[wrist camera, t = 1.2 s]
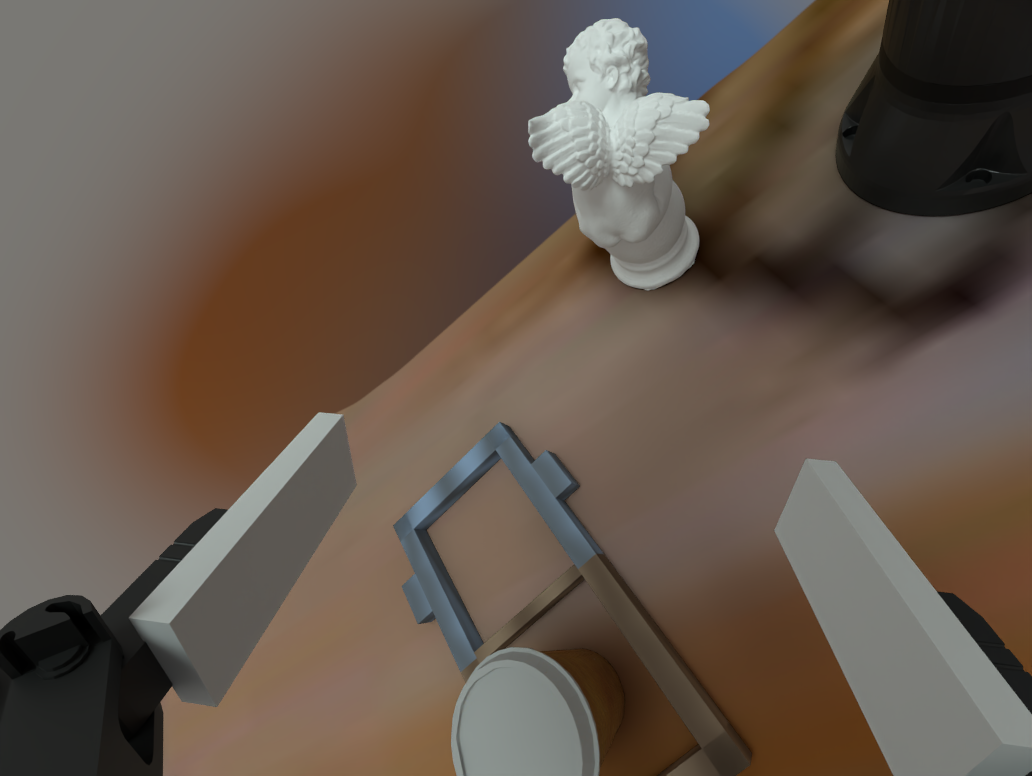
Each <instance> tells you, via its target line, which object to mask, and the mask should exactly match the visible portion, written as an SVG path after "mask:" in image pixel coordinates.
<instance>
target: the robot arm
mask: <svg viewBox="0 0 1032 776" xmlns="http://www.w3.org/2000/svg"><path fill="white" fill-rule="evenodd" d="M836 163H837V167H838V170H839V173H840V175H841V177H842V178H843V180H844V181H845V183H846V184H847V185H848V186H849V187H850V188H851V190H853V191H854V192H855V193H856V194H857V195H859V196H860V197H862V198H863V199H865V200H867V201H868V202H870V203H872V204H875V205H877V206H880V207H882V208H885V209H888V210H892V211H896V212H901V213H907V214H914V215H954V214H963V213H969V212H975V211H979V210H984V209H988V208H992V207H996V206H999V205H1002V204H1005V203H1008V202H1011V201H1013V200H1016V199H1018V198H1021V197H1023V196H1025V195H1028V194H1030V193H1032V0H889V4H888V9H887V15H886V20H885V25H884V30H883V37H882V42H881V46H880V51H879V54H878V55H877V57H876V59H875V60H874V62H873V64H872V65H871V67H870V69H869V70H868V72H867V74H866V75H865V77H864V79H863V80H862V82H861V84H860V85H859V87H858V89H857V90H856V92H855V94H854V95H853V97H852V99H851V100H850V102H849V104H848V106H847V107H846V110H845V112H844V114H843V117H842V120H841V123H840V126H839V131H838V138H837V146H836ZM356 485H357V484H356V479H355V474H354V469H353V463H352V458H351V453H350V448H349V442H348V437H347V432H346V427H345V421H344V416H343V415H341V414H331V413H320V412H319V413H318V414H317V415H316V416H315V417H314V418H313V419H312V420H311V421H310V422H309V423H308V425H307V426H306V427H305V428H304V429H303V430H302V431H301V432H300V433H299V434H298V435H297V436H296V437H295V439H294V440H293V441H292V442H291V443H290V444H289V445H288V446H287V447H286V448H285V449H284V451H283V452H282V453H281V454H280V455H279V456H278V457H277V458H276V459H275V460H274V461H273V462H272V463H271V464H270V466H269V467H268V468H267V469H266V470H265V471H264V472H263V473H262V474H261V475H260V476H259V477H258V479H257V480H256V481H255V482H254V483H253V484H252V485H251V486H250V487H249V488H248V489H247V490H246V491H245V493H244V494H243V495H242V496H241V497H240V498H239V499H238V500H237V501H236V502H235V503H234V504H233V505H232V507H231V508H230V509H229V510H225V509H217V508H215V509H214V510H212V511H210V512H209V513H207V514H206V515H204V516H202V517H201V518H199V519H198V520H196V521H195V522H193V523H192V524H191V525H190V526H189V527H188V528H187V529H186V530H185V531H184V532H183V533H182V534H181V535H180V536H179V537H178V538H177V539H176V540H175V541H174V544H173V545H170V546H169V547H168V548H167V549H166V550H165V551H164V552H163V553H162V554H161V555H160V556H159V557H160V558H159V560H155V561H154V562H153V563H152V564H151V565H150V566H149V567H148V568H147V569H146V570H145V571H144V572H143V573H142V574H141V576H139V577H138V578H137V579H136V580H135V582H133V583H132V584H131V585H130V586H129V588H127V589H126V590H125V592H124V593H123V594H122V595H121V596H120V597H119V598H118V599H117V600H116V601H115V602H114V603H113V604H112V605H111V606H110V607H109V608H108V609H107V610H106V611H105V612H104V613H103V614H102V615H101V616H100V614H99V613H98V612H97V610H96V609H95V607H94V606H93V604H92V603H91V601H90V600H88V599H86V598H85V597H83V596H78V595H76V596H75V595H66V596H62V597H58V598H54V599H50V600H47V601H45V602H43V603H40V604H38V605H36V606H34V607H32V608H30V609H28V610H26V611H25V612H23V613H22V614H20V615H19V616H17V617H16V618H14V619H13V620H11V621H10V622H9V623H8V624H6V625H5V626H4V627H3V628H2V629H1V630H0V776H163V710H162V706H161V703H160V702H161V700H162V699H163V697H164V696H165V695H166V693H167V692H168V691H169V689H170V688H171V687H173V688H174V690H175V691H176V693H177V695H178V696H179V698H180V699H181V701H182V702H188V703H195V704H201V705H207V706H213V707H217V706H218V705H219V703H220V702H221V700H222V698H223V697H224V695H225V694H226V692H227V690H228V689H229V687H230V686H231V684H232V682H233V681H234V679H235V678H236V676H237V675H238V673H239V671H240V670H241V668H242V667H243V665H244V663H245V662H246V660H247V659H248V657H249V655H250V654H251V652H252V651H253V649H254V648H255V646H256V644H257V643H258V641H259V640H260V638H261V636H262V635H263V633H264V632H265V630H266V628H267V627H268V625H269V624H270V622H271V621H272V619H273V617H274V616H275V614H276V613H277V611H278V609H279V608H280V606H281V605H282V603H283V601H284V600H285V598H286V597H287V595H288V593H289V592H290V590H291V589H292V587H293V586H294V584H295V582H296V581H297V579H298V578H299V576H300V574H301V573H302V571H303V570H304V568H305V566H306V565H307V563H308V562H309V560H310V559H311V557H312V555H313V554H314V552H315V551H316V549H317V547H318V546H319V544H320V543H321V541H322V539H323V538H324V536H325V535H326V533H327V532H328V530H329V528H330V527H331V525H332V524H333V522H334V520H335V519H336V517H337V516H338V514H339V512H340V511H341V509H342V508H343V506H344V504H345V503H346V501H347V500H348V498H349V497H350V495H351V493H352V492H353V490H354V489H355V487H356ZM774 531H775V533H776V535H777V537H778V539H779V541H780V544H781V546H782V548H783V550H784V552H785V554H786V556H787V558H788V560H789V562H790V564H791V566H792V568H793V570H794V572H795V574H796V576H797V578H798V581H799V583H800V585H801V587H802V589H803V591H804V593H805V595H806V597H807V599H808V601H809V603H810V605H811V607H812V609H813V611H814V613H815V615H816V617H817V620H818V622H819V624H820V626H821V628H822V630H823V632H824V634H825V636H826V638H827V640H828V642H829V644H830V646H831V648H832V650H833V652H834V654H835V657H836V659H837V661H838V663H839V665H840V667H841V669H842V671H843V673H844V675H845V677H846V679H847V681H848V683H849V685H850V687H851V689H852V691H853V694H854V696H855V698H856V700H857V702H858V704H859V706H860V708H861V710H862V712H863V714H864V716H865V718H866V720H867V722H868V724H869V726H870V728H871V731H872V733H873V735H874V737H875V739H876V741H877V743H878V745H879V747H880V749H881V751H882V753H883V755H884V757H885V759H886V761H887V763H888V765H889V768H890V770H891V772H892V774H893V776H1032V676H1031V675H1030V674H1029V673H1028V672H1025V671H1024V670H1023V666H1022V664H1021V663H1020V662H1019V661H1018V659H1017V658H1016V657H1015V656H1014V655H1013V653H1012V652H1011V651H1010V650H1009V649H1006V648H1005V647H1004V645H1005V644H1004V643H1003V641H1002V640H1001V639H1000V638H999V637H998V635H997V634H996V633H995V632H994V631H993V629H992V628H991V627H990V626H989V624H988V623H987V622H986V621H985V620H984V618H983V617H982V616H980V615H979V614H978V613H977V612H975V611H974V610H973V609H972V608H970V607H969V606H968V605H967V604H966V603H964V602H963V601H962V600H961V599H959V598H958V597H957V596H956V595H955V594H953V593H944V592H937V591H936V590H935V589H934V588H933V586H932V585H931V584H930V582H929V581H928V580H927V579H926V577H925V576H924V575H923V573H922V572H921V571H920V570H919V568H918V567H917V566H916V564H915V563H914V562H913V560H912V559H911V558H910V557H909V555H908V554H907V553H906V551H905V550H904V549H903V548H902V546H901V545H900V544H899V542H898V541H897V540H896V539H895V537H894V536H893V535H892V533H891V532H890V531H889V530H888V528H887V527H886V526H885V524H884V523H883V522H882V520H881V519H880V518H879V517H878V515H877V514H876V513H875V511H874V510H873V509H872V508H871V506H870V505H869V504H868V502H867V501H866V500H865V499H864V497H863V496H862V495H861V493H860V492H859V491H858V489H857V488H856V487H855V486H854V484H853V483H852V482H851V480H850V479H849V478H848V477H847V475H846V474H845V473H844V471H843V470H842V469H841V468H840V466H839V465H838V464H837V462H836V461H827V460H816V459H805V462H804V464H803V466H802V469H801V471H800V473H799V475H798V478H797V480H796V482H795V485H794V487H793V489H792V491H791V494H790V496H789V498H788V501H787V503H786V505H785V507H784V510H783V512H782V514H781V517H780V519H779V521H778V523H777V526H776V528H775V530H774Z"/></svg>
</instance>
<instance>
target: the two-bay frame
mask: <svg viewBox="0 0 1032 776" xmlns="http://www.w3.org/2000/svg"><path fill="white" fill-rule="evenodd" d="M501 458H502V460H503V461H504V463H505V464H506V466H507V467H508V468H509V470H510V471H511V473H512V474H513V476H514V477H515V479H516V480H517V482H518V483H519V484H520V486H521V487H522V489H523V490H524V492H525V493H526V495H527V496H528V497H529V499H530V500H531V502H532V503H533V505H534V506H535V508H536V509H537V511H538V512H539V513H540V515H541V516H542V518H543V519H544V521H545V522H546V524H547V525H548V526H549V528H550V529H551V531H552V532H553V534H554V535H555V537H556V538H557V539H558V541H559V542H560V544H561V545H562V547H563V548H564V550H565V551H566V553H567V554H568V555H569V557H570V558H571V560H572V561H573V563H574V565H573V566H572V567H570V568H569V569H568V570H567V571H566V572H565V573H564V574H563V575H561V576H560V577H559V578H558V579H557V580H556V581H555V582H553V583H552V584H551V585H550V586H549V587H548V588H547V589H545V590H544V591H543V592H542V593H541V594H540V595H539V596H538V597H536V598H535V599H534V600H533V601H532V602H531V603H530V604H528V605H527V606H526V607H525V608H524V609H523V610H522V611H520V612H519V613H518V614H517V615H516V616H515V617H514V618H513V619H511V620H510V621H509V622H508V623H507V624H506V625H505V626H503V627H502V628H501V629H500V630H499V631H498V632H497V633H495V634H494V635H493V636H492V637H491V638H490V639H489V640H488V641H486V642H485V643H483V641H482V639H481V637H480V635H479V633H478V631H477V629H476V627H475V625H474V624H473V622H472V620H471V618H470V616H469V614H468V612H467V610H466V608H465V606H464V604H463V602H462V600H461V598H460V596H459V594H458V592H457V590H456V588H455V586H454V584H453V582H452V580H451V578H450V576H449V574H448V572H447V570H446V568H445V566H444V564H443V562H442V560H441V558H440V556H439V554H438V552H437V550H436V548H435V547H434V545H433V543H432V541H431V539H430V537H429V535H428V533H427V531H426V530H427V529H428V528H429V527H430V526H431V525H432V524H433V523H434V522H435V521H436V520H437V519H438V518H439V517H440V516H441V515H442V514H443V513H444V512H445V511H446V510H447V509H448V508H449V507H451V506H452V505H453V504H454V503H455V502H456V501H457V500H458V499H459V498H460V497H461V496H462V495H463V494H464V493H465V492H466V491H467V490H468V489H469V488H470V487H471V486H472V485H473V484H475V483H476V482H477V481H478V480H479V479H480V478H481V477H482V476H483V475H484V474H485V473H486V472H487V471H488V470H489V469H490V468H491V467H492V466H493V465H494V464H495V463H496V462H497V461H498V460H500V459H501ZM579 487H580V485H579V484H578V483H577V482H576V480H575V479H574V478H573V477H572V475H571V474H570V473H569V471H568V470H567V469H566V468H565V466H564V465H563V464H562V462H561V461H560V460H559V459H558V457H557V456H556V455H555V454H554V453H552V452H549V451H547V450H546V451H544V452H543V453H542V454H541V455H540V456H539V457H538V458H537V459H536V460H534V459H533V458H532V456H531V455H530V454H529V452H528V451H527V450H526V448H525V447H524V446H523V444H522V443H521V442H520V440H519V439H518V438H517V436H516V435H515V434H514V432H513V431H512V429H511V428H510V427H509V426H507V425H505V424H503V423H501V422H499V423H498V424H497V425H496V426H495V427H494V428H493V429H492V430H491V431H490V432H488V433H487V434H486V435H485V436H484V437H483V438H482V439H481V440H480V441H479V442H478V443H477V444H476V445H475V446H474V447H473V448H472V449H471V450H470V451H469V452H468V453H467V454H466V455H465V456H464V457H463V458H462V459H461V460H460V461H459V462H458V463H457V464H456V465H455V466H454V467H453V468H452V469H451V470H450V471H449V472H448V473H447V474H446V475H444V476H443V477H442V478H441V479H440V480H439V481H438V482H437V483H436V484H435V485H434V486H433V487H432V488H431V489H430V490H429V491H428V492H427V493H426V494H425V495H424V496H423V497H422V498H421V499H420V500H419V501H418V502H417V503H416V504H415V505H414V506H413V507H412V508H411V509H410V510H409V511H408V512H407V513H406V514H405V515H404V516H403V517H402V518H401V519H399V520H398V521H397V522H396V523H395V524H394V525H393V526H394V529H395V531H396V533H397V535H398V537H399V539H400V542H401V544H402V546H403V548H404V550H405V552H406V555H407V557H408V559H409V561H410V563H411V565H412V568H413V570H414V572H415V574H414V575H413V576H412V577H411V578H410V579H409V580H408V581H407V582H406V583H405V584H404V585H402V588H403V591H404V593H405V595H406V597H407V600H408V602H409V604H410V607H411V609H412V611H413V614H414V616H415V618H416V621H417V623H418V624H422V623H427V622H432V621H433V620H434V619H435V618H436V620H437V622H438V624H439V626H440V628H441V631H442V633H443V635H444V637H445V639H446V641H447V644H448V646H449V648H450V650H451V652H452V654H453V657H454V659H455V661H456V663H457V665H458V667H459V670H460V672H461V674H462V676H463V678H464V680H465V683H467V680H468V679H469V677H470V676H471V674H472V673H473V671H474V670H475V668H476V667H477V666H478V665H479V664H480V663H481V662H482V661H483V660H484V659H485V658H486V657H488V656H489V655H491V654H493V653H495V652H497V651H499V650H503V649H504V648H506V647H507V646H508V645H509V644H510V643H511V642H513V641H514V640H515V639H516V638H517V637H518V636H519V635H521V634H522V633H523V632H524V631H525V630H526V629H527V628H529V627H530V626H531V625H532V624H533V623H534V622H536V621H537V620H538V619H539V618H540V617H541V616H542V615H544V614H545V613H546V612H547V611H548V610H549V609H550V608H552V607H553V606H554V605H555V604H556V603H557V602H559V601H560V600H561V599H562V598H563V597H564V596H565V595H567V594H568V593H569V592H570V591H571V590H572V589H573V588H575V587H576V586H577V585H578V584H579V583H580V582H582V581H583V580H584V579H585V580H586V581H587V583H588V584H589V586H590V587H591V589H592V590H593V592H594V593H595V595H596V596H597V597H598V599H599V600H600V602H601V603H602V605H603V606H604V608H605V609H606V610H607V612H608V613H609V615H610V616H611V618H612V619H613V621H614V622H615V624H616V625H617V626H618V628H619V629H620V631H621V632H622V634H623V635H624V637H625V638H626V639H627V641H628V642H629V644H630V645H631V647H632V648H633V650H634V651H635V652H636V654H637V655H638V657H639V658H640V660H641V661H642V663H643V664H644V666H645V667H646V668H647V670H648V671H649V673H650V674H651V676H652V677H653V679H654V680H655V681H656V683H657V684H658V686H659V687H660V689H661V690H662V692H663V693H664V694H665V696H666V697H667V699H668V700H669V702H670V703H671V705H672V706H673V708H674V709H675V710H676V712H677V713H678V715H679V716H680V718H681V719H682V721H683V722H684V723H685V725H686V726H687V728H688V729H689V731H690V732H691V734H692V735H693V737H694V738H695V739H696V741H697V742H698V745H697V746H695V747H694V748H693V749H691V750H690V751H689V752H687V753H686V754H685V755H683V756H682V757H681V758H680V759H678V760H677V761H676V762H674V763H673V764H672V765H670V766H669V767H668V768H666V769H665V770H664V771H662V772H661V773H660V774H658V775H657V776H736V775H737V774H739V773H740V772H741V771H743V770H744V769H745V768H747V767H748V766H750V764H751V757H752V753H751V752H750V750H749V749H748V748H747V746H746V745H745V744H744V742H743V741H742V739H741V738H740V737H739V735H738V734H737V733H736V731H735V730H734V729H733V727H732V726H731V725H730V723H729V722H728V721H727V719H726V718H725V717H724V715H723V714H722V713H721V711H720V710H719V708H718V707H717V706H716V704H715V703H714V702H713V700H712V699H711V698H710V696H709V695H708V694H707V692H706V691H705V690H704V688H703V687H702V686H701V684H700V683H699V682H698V680H697V679H696V677H695V676H694V675H693V673H692V672H691V671H690V669H689V668H688V667H687V665H686V664H685V663H684V661H683V660H682V659H681V657H680V656H679V655H678V653H677V652H676V651H675V649H674V648H673V646H672V645H671V644H670V642H669V641H668V640H667V638H666V637H665V636H664V634H663V633H662V632H661V630H660V629H659V628H658V626H657V625H656V624H655V622H654V621H653V620H652V618H651V617H650V615H649V614H648V613H647V611H646V610H645V609H644V607H643V606H642V605H641V603H640V602H639V601H638V599H637V598H636V597H635V595H634V594H633V593H632V591H631V590H630V589H629V587H628V586H627V584H626V583H625V582H624V580H623V579H622V578H621V576H620V575H619V574H618V572H617V571H616V570H615V568H614V567H613V566H612V564H611V563H610V562H609V560H608V559H607V558H606V556H605V555H604V553H603V552H602V551H601V549H600V548H599V547H598V545H597V544H596V543H595V541H594V540H593V539H592V537H591V536H590V535H589V533H588V532H587V531H586V529H585V528H584V527H583V525H582V524H581V522H580V521H579V520H578V518H577V517H576V516H575V514H574V513H573V512H572V510H571V509H570V508H569V506H568V505H567V504H566V502H565V501H564V500H565V499H566V498H568V497H569V496H570V495H571V494H572V493H573V492H574V491H575V490H576V489H577V488H579Z"/></svg>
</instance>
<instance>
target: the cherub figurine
mask: <svg viewBox="0 0 1032 776" xmlns="http://www.w3.org/2000/svg"><path fill="white" fill-rule="evenodd" d="M647 46H648V45H647V40H646V39H645V37H644V36H643V35H642V34H641V32H640V29H639V28H630V27H629V26H628V24H627V23H625V22H622V21H621V20H620V19H617V18H614V19H609V20H608V19H602V20H600V21H598V22H596V23H594V25H593V26H589V27H588V28H587V29H586V30H585V31H583V32H581V33H580V34H579V35H578V36H577V37H576V39H575V40H574V43H573V44H572V45H571V46H570V47H569V48H567V49H566V51H567V54H566V56H565V57H564V67H563V70H564V72H565V74H566V75H567V79H568V83H569V87H570V90H571V92H572V93H573V96H572V98H571V99H570V100H569V101H568V102H566V103H563V104H560V105H557V107H556V108H553V109H551V110H550V111H549V112H548V113H546V114H544V116H539V117H535V118H533V119H532V120H529V124H528V128H529V129H528V133H529V134H530V138H529V140H528V142H529V145H530V147H531V148H533V155H532V157H533V159H534V160H535V161H536V162H540V161H543V167H544V168H545V169H548V170H549V169H552V172H553V173H554V174H555V175H559V174H563V175H564V178H563V179H564V181H565V182H566V183H571V186H572V193H573V201H574V206H575V211H576V215H577V218H578V221H579V228H580V230H581V232H582V233H583V234H584V235H585V236H587V237H589V238H590V239H591V240H593V242H595V244H596V245H598V246H599V247H601V248H605V249H606V250H607V251H608V252H609V253H610V254H611V255H610V261H611V266H612V269H613V272H614V274H615V275H616V276H617V278H618V279H619V280H620V281H622V282H623V283H624V284H626V285H628V286H631V287H634V288H639V289H644V290H647V291H648V290H651V289H655V288H658V287H661V286H662V285H665V284H667V283H669V282H672V281H674V280H676V279H677V278H678V277H680V276H681V275H682V274H683V273H684V272H685V271H686V270H687V269H688V268H690V267H691V266H692V264H694V261H695V260H694V259H695V257H696V254H697V251H698V248H699V234H698V230H697V228H696V226H695V224H694V223H693V222H692V220H691V219H690V218H688V217H687V216H685V203H684V198H683V195H682V193H681V191H680V189H679V187H678V186H677V184H676V183H675V182H674V181H673V179H672V173H671V169H670V164H673V163H675V162H676V158H677V155H679V154H685V153H687V151H688V146H689V145H691V144H694V143H696V142H697V141H698V139H699V132H701V131H704V130H706V129H707V128H708V126H709V120H708V119H706V118H705V117H706V116H707V114H708V113H709V111H710V110H709V105H708V104H707V103H706V101H703V100H699V101H698V100H692V101H688V99H689V98H688V97H687V98H683V97H679V96H675V95H674V94H669V93H654V94H650V95H648V96H645V95H646V94H647V93H648V90H647V85H648V84H649V82H650V76H649V73H647V72H648V69H647V68H648V64H649V60H648V57H647Z"/></svg>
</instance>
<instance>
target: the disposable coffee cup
mask: <svg viewBox="0 0 1032 776" xmlns="http://www.w3.org/2000/svg"><path fill="white" fill-rule="evenodd" d="M624 707H625V699H624V694H623V688H622V685H621V682H620V680H619V677H618V675H617V673H616V672H615V670H614V669H613V667H612V666H611V665H610V664H609V663H608V662H607V661H606V660H605V658H603V657H602V656H600V655H599V654H598V653H595V652H593V651H591V650H587V649H571V650H557V651H541V652H539V651H536V650H534V649H531V648H520V647H510V648H506V649H503V650H499V651H497V652H495V653H493V654H491V655H489V656H488V657H486V658H485V659H484V660H483V661H482V662H481V663H480V664H479V665H478V666H477V667H476V668H475V670H474V671H473V673H472V674H471V676H470V677H469V679H468V680H467V683H466V684H465V685H464V687H463V689H462V691H461V694H460V696H459V698H458V700H457V703H456V707H455V711H454V714H453V722H452V736H451V746H452V755H453V763H454V767H455V770H456V774H457V776H599V769H600V766H601V764H602V762H603V761H604V758H605V756H606V754H607V752H608V749H609V748H610V745H611V743H612V741H613V739H614V737H615V734H616V732H617V730H618V728H619V726H620V724H621V721H622V719H623V714H624Z"/></svg>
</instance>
